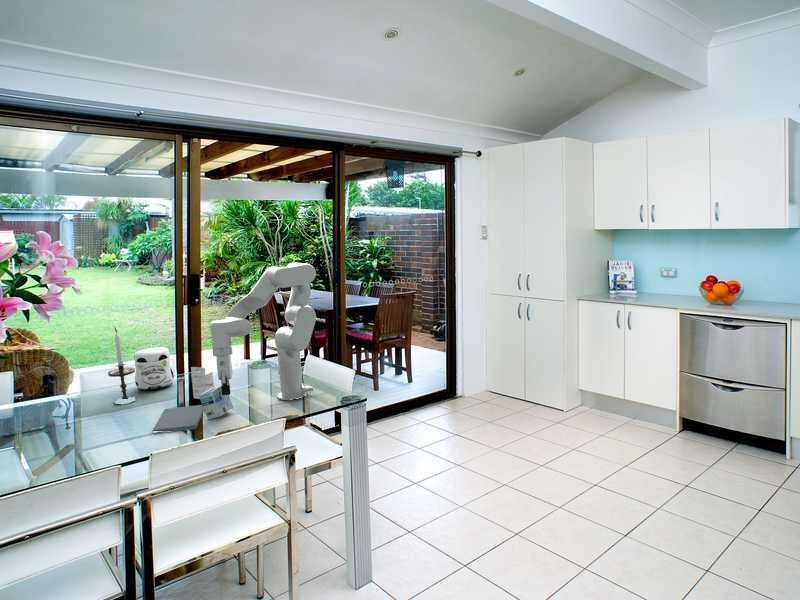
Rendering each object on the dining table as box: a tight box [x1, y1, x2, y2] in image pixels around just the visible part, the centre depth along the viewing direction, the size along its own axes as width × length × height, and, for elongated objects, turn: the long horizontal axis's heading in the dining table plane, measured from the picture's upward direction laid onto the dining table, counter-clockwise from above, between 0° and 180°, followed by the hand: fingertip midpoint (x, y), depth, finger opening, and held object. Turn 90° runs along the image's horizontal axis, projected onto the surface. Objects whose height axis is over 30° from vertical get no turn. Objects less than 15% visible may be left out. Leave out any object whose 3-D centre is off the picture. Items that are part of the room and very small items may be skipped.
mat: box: [152, 404, 205, 432], centre depth 229 cm, size 16×24×2 cm, turn 11°
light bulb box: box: [199, 384, 234, 420], centre depth 231 cm, size 11×7×11 cm, turn 168°
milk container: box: [133, 347, 175, 391], centre depth 274 cm, size 17×17×18 cm
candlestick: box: [107, 325, 136, 399], centre depth 252 cm, size 11×11×35 cm
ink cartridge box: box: [190, 366, 215, 400], centre depth 255 cm, size 9×5×15 cm, turn 68°
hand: (226, 394), depth 231 cm, fingers closed
